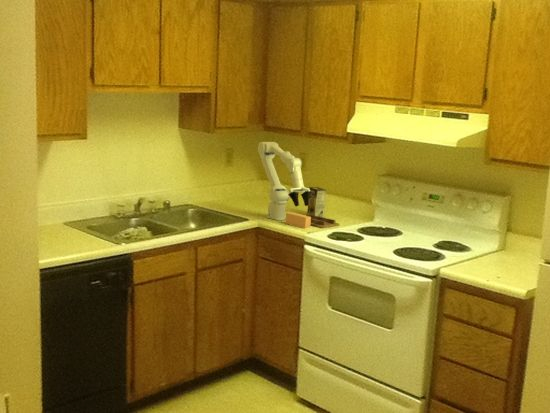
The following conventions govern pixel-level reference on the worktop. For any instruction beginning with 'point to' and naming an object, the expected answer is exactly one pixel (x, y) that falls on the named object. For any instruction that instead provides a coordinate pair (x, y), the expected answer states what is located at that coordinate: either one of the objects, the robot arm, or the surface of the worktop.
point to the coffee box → (317, 201)
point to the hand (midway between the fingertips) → (302, 205)
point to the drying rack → (322, 222)
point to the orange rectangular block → (298, 220)
